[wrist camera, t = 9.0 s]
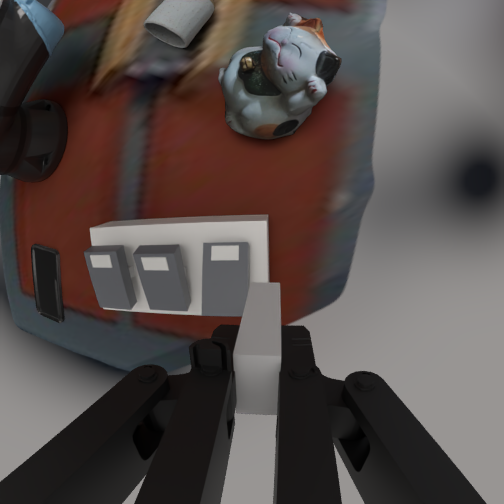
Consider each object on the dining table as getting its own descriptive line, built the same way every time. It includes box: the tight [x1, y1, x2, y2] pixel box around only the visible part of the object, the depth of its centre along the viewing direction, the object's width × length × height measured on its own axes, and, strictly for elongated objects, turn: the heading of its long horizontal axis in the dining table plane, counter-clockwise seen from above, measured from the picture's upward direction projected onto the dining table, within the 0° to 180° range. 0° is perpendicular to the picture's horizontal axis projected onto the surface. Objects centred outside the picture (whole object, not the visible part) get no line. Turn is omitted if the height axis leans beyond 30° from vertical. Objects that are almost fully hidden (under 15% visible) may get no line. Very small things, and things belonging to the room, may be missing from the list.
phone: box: [31, 244, 64, 323], centre depth 45 cm, size 8×1×15 cm
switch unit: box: [90, 215, 269, 315], centre depth 38 cm, size 24×12×8 cm, turn 92°
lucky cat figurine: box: [218, 13, 341, 139], centre depth 29 cm, size 15×12×14 cm
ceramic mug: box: [144, 0, 215, 48], centre depth 29 cm, size 11×8×8 cm
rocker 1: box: [84, 245, 137, 310], centre depth 33 cm, size 8×5×2 cm, turn 2°
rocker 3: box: [202, 242, 250, 316], centre depth 32 cm, size 8×5×2 cm, turn 2°
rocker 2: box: [133, 244, 191, 311], centre depth 33 cm, size 8×5×2 cm, turn 2°
